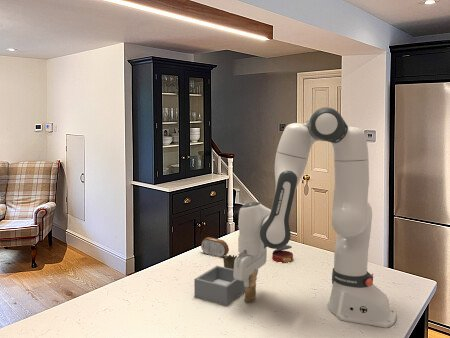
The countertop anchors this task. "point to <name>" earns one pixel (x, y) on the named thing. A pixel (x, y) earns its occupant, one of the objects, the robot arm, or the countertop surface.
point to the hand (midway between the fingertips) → (250, 283)
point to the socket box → (218, 286)
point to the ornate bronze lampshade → (229, 261)
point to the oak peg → (251, 288)
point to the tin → (214, 247)
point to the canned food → (282, 255)
